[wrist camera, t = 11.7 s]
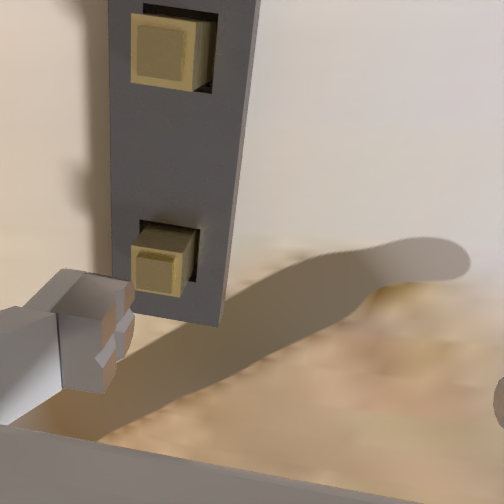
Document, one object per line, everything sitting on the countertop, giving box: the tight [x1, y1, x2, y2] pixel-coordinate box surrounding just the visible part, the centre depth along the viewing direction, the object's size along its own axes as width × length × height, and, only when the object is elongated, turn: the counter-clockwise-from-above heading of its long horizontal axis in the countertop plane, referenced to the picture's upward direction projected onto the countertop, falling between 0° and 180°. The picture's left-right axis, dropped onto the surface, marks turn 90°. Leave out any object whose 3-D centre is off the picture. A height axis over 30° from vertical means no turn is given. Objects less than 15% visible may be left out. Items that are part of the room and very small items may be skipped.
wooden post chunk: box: [131, 221, 201, 298], centre depth 39 cm, size 4×4×8 cm
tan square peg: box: [131, 13, 217, 92], centre depth 31 cm, size 4×4×8 cm
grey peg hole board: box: [108, 0, 261, 327], centre depth 37 cm, size 10×30×3 cm, turn 173°
